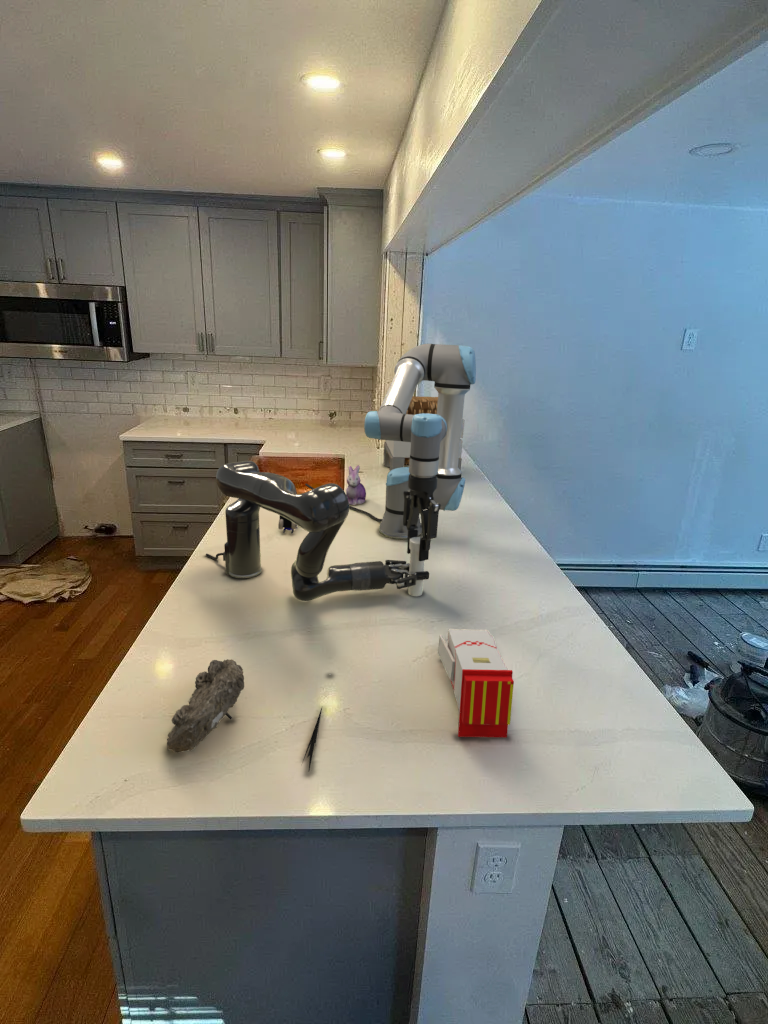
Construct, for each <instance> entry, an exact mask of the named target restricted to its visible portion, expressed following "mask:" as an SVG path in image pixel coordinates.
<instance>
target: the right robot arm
mask: <svg viewBox="0 0 768 1024" xmlns="http://www.w3.org/2000/svg"><path fill="white" fill-rule="evenodd" d="M393 371H394V376H393V378H392V381H391V382H390V385H389V387H388V389H387V392H386V393H385V396H384V398H383V400H382V403H381V404H380V406H379V409H378V411H377V410H375V411H373V410H370V411H368V412H367V413H366V415H365V418H364V424H363V425H364V427H363V429H364V434H365V436H366V437H367V438H368V439H374V440H378V441H385V440H391V441H403V442H411V449H410V461H409V466H404V467H401V468H396V469H393V470H391V471H390V470H389V472H388V473H387V475H386V482H385V504H384V505H385V507H384V508H385V509H384V513H383V515H382V518H378V517H376V516H375V515H373V514H372V513H370V512H369V511H365V510H363V509H360V508H358V507H355V506H353V505H349V510H353V511H356V512H359V513H362V514H364V515H367V516H369V517H370V518H372V519H373V520H374V521H377V522H379V526H378V533H379V534H380V535H381V536H382V537H385V538H387V539H389V540H395V541H407V546H406V554H408V555H410V551H411V550H410V549H409V541H410V539H411V538H413V537H421V538H420V549H419V561H424V560H425V561H428V560H429V556H430V549H431V543H432V542H431V541H432V540H434V539H437V538H438V528H439V527H438V526H439V513H440V511H443V512H445V511H447V512H449V511H451V512H455V511H457V510H458V509H459V508H460V504H461V501H462V498H463V493H464V489H465V484H466V478H465V477H463V476H462V475H463V474H462V473H463V472H462V469H461V470H460V469H459V468H458V460H459V449H460V439H461V440H462V438H461V428H462V419H464V408H465V407H464V406H465V397H466V394H467V393H468V392H469V391H470V390H471V386H472V385H475V384H476V380H477V378H476V377H477V363H476V353H475V350H474V348H473V347H471V346H468V345H461V344H443V343H442V344H441V343H439V344H438V343H423V344H419V345H416V346H413V347H412V348H410V349H408V350H407V351H406V352H405V353H404V354H403V355H401V357H399V359H398V360H397V362H396V364H395V365H394V370H393ZM424 381H425V382H434V383H433V384H434V386H433V387H434V389H435V391H436V392H437V397H438V403H437V414H428V413H421V414H416V415H411V414H406V412H407V409H408V407H409V404H410V402H411V399H412V397H413V396H414V394H415V392H416V389H417V386H418V385H420V384H421V383H422V382H424ZM304 485H305V486H306V487H307V488H309V489H310V490H312V489H315V488H314V487H313V486H312V485H310V484H309V483H307V482H306V483H305V484H304Z"/></svg>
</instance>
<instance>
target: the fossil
mask: <svg viewBox="0 0 768 1024" xmlns="http://www.w3.org/2000/svg"><path fill="white" fill-rule="evenodd" d="M243 670H244V669H243V667H242V665H240V664H237V662H236V661H235V660H234V659H232V658H231V659H227V658H226V659H224V660H223V661H222V660H217V659H212V660H211V661H210V663H209V665H208V666H207V671H201V672H199V673H198V674H197V675H196V676H195V680H194V684H195V685H194V687H195V689H194V690H193V693H192V694H191V697H190V698H189V700H188V704H184V705H182V706H181V707H180V709H177V710H176V711H175V713H174V715H173V716H172V718H171V723H172V724H173V727H172V730H171V731H170V732H168V734H167V738H166V741H167V742H166V745H167V749H168V750H169V751H173V752H174V753H176V754H178V753H182V752H188V751H189V752H192V751H193V750H195V748H196V747H197V746H199V744H200V743H201V742H203V741H204V740H205V739H206V738H207V737H208V736H209V735H210V734H211V733H212V732H214V730H215V729H217V727H218V726H219V724H220V722H221V721H222V720H223V719H224V718H225V716H226V717H227V719H229V720H233V717H232V715H230V714H229V710H230V709H231V708H234V706H235V704H236V703H237V702H238V699H239V697H240V695H241V693H242V691H243V690H245V689H244V688H245V675H244V671H243Z"/></svg>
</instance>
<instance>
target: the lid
mask: <svg viewBox="0 0 768 1024" xmlns="http://www.w3.org/2000/svg"><path fill="white" fill-rule="evenodd" d="M421 537H422V536H420V537H413V538H411V539H410V541H409V549H410V550H412V551H415V552H419V549H420V538H421Z"/></svg>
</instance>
